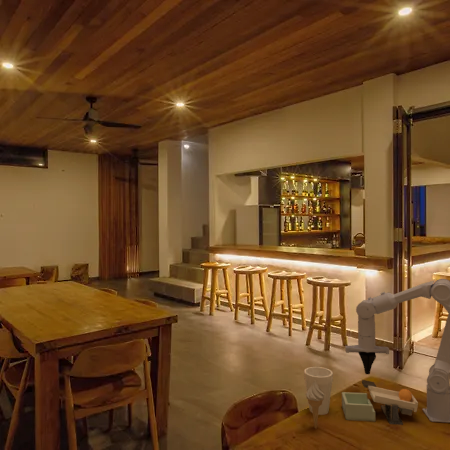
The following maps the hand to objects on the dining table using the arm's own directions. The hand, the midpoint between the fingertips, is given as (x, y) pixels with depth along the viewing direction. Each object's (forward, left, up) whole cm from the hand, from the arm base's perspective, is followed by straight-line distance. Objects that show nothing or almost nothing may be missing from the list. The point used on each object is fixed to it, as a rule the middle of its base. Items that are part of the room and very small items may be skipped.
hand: (367, 373), depth 138 cm
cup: (+5, +10, -10) cm, 15 cm away
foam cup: (+17, +9, -10) cm, 22 cm away
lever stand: (-6, +10, -10) cm, 15 cm away
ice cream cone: (+19, +21, -10) cm, 30 cm away
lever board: (-5, +6, -7) cm, 11 cm away
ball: (-10, +10, -3) cm, 14 cm away
